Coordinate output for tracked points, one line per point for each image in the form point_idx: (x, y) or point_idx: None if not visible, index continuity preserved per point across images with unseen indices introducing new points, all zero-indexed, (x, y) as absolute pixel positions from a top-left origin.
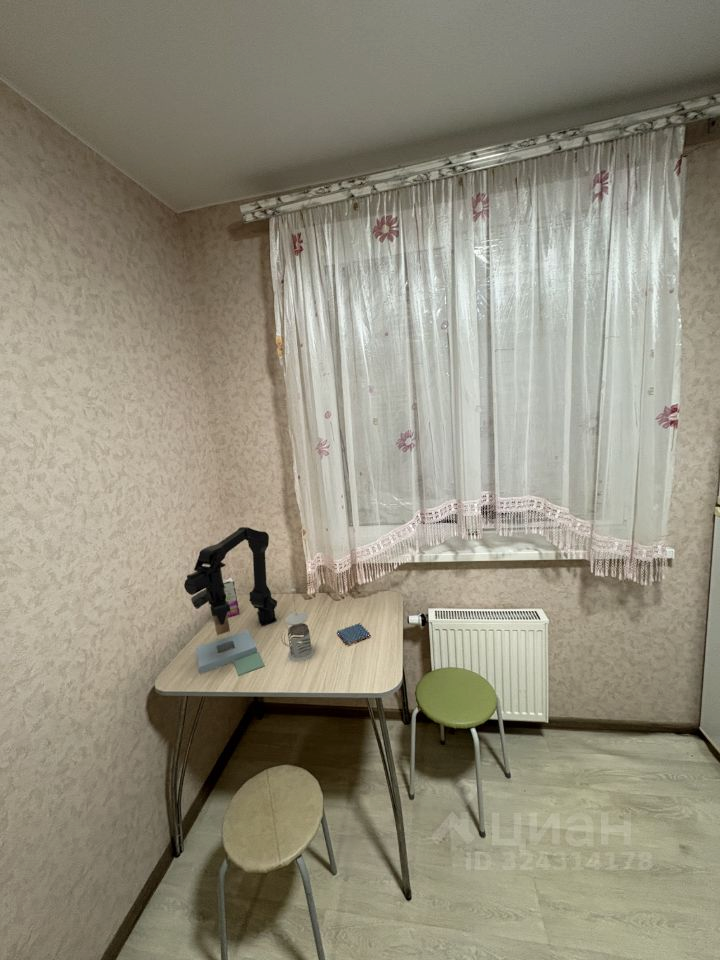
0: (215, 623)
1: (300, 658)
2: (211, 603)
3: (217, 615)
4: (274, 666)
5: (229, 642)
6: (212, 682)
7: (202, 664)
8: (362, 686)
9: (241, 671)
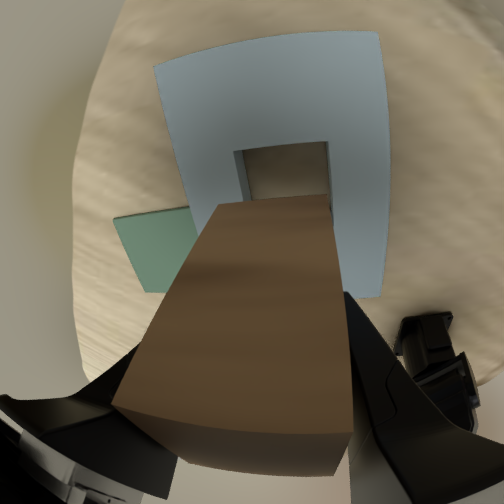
0: (178, 276)
1: None
2: (397, 500)
3: (92, 389)
4: (142, 307)
5: (333, 207)
6: (102, 132)
7: (167, 79)
8: (89, 371)
9: (127, 230)
